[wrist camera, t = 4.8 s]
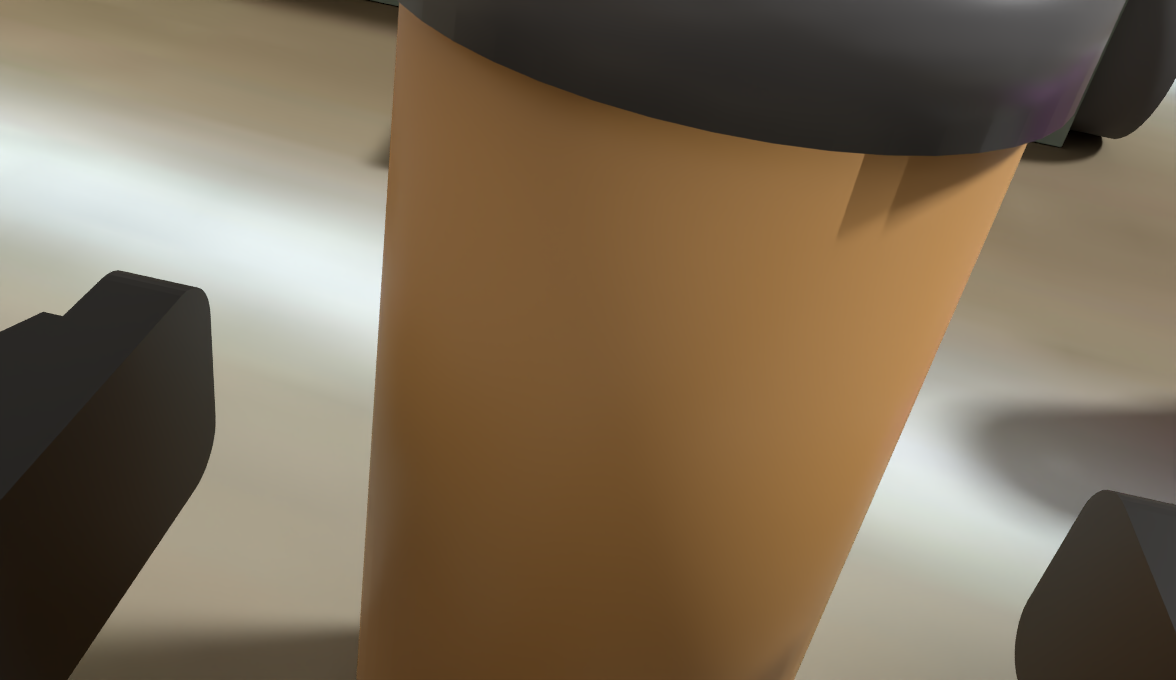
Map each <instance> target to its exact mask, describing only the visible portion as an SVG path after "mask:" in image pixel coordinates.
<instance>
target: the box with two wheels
mask: <svg viewBox="0 0 1176 680" xmlns="http://www.w3.org/2000/svg"><path fill="white" fill-rule="evenodd" d="M372 1H377V2H381V3H386V4H391V5H396V6H399V2H398V1H397V0H372ZM1175 78H1176V0H1126V1H1125V4H1124V6H1123V8H1122V10H1121V12H1120V15H1119V17H1118V19H1117V21H1116V23H1115V26H1114V28H1113V30H1112V32H1111V34H1110V37H1109V39H1108V41H1107V43H1106V45H1105V47H1104V50H1103V52H1102V54H1101V56H1100V58H1099V61H1098V63H1097V65H1096V67H1095V69H1094V72H1093V74H1092V76H1091V78H1090V80H1089V83H1088V85H1087V87H1086V89H1085V91H1084V94H1083V96H1082V98H1081V100H1080V102H1079V105H1078V107H1077V109H1076V111H1075V113H1074V115H1073V116H1072V117H1071V118H1070V119H1069V121H1068V122H1067V123H1066V124H1065V125H1064V126H1063V127H1062V128H1060V129H1058V130H1057V131H1055V132H1053V133H1051V134H1049V135H1048V136H1046V137H1044V138H1042V139H1039V140H1036V141H1035V142H1039V143H1044V144H1049V145H1053V146H1058V147H1062V145H1063V143H1064V140H1065V138H1066V136H1067V134H1068V132H1069V130H1074V131H1079V132H1084V133H1088V134H1093V135H1098V136H1102V137H1107V138H1112V139H1118V138H1122V137H1125V136H1127V135H1129V134H1130V133H1132V132H1134V131H1135V130H1136V129H1137V128H1139V127H1140V126H1141V125H1142V124H1143V123H1144V122H1145V121H1146V120H1147V119H1148V118H1149V117H1150V116H1151V114H1152V113H1153V112H1154V111H1155V109H1156V108H1157V107H1158V105H1159V104H1160V103H1161V101H1162V100H1163V98H1164V97H1165V95H1166V94H1167V92H1168V91H1169V89H1170V87H1171V86H1172V84H1173V82H1174V80H1175Z"/></svg>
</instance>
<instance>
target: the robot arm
mask: <svg viewBox="0 0 1176 680" xmlns="http://www.w3.org/2000/svg"><path fill="white" fill-rule="evenodd" d="M214 435H215V397H214V377H213V357H212V336H211V316H210V306H209V301H208V298H207V296H206V294H205V292H204V291H203V290H202V289H200V288H197V287H193V286H188V285H183V284H179V283H174V282H170V281H165V280H161V279H156V278H152V277H147V276H142V275H138V274H133V273H129V272H124V271H119V270H117V271H113V272H111V273H109V274H107V275H106V276H104V277H103V278H102V279H101V280H100V281H99V282H98V283H97V284H96V285H95V286H94V287H93V288H92V289H91V290H90V291H89V292H88V293H86V294H85V295H84V296H83V297H82V298H81V299H80V300H79V301H78V302H77V303H76V304H75V305H74V306H73V307H72V308H71V309H70V310H69V311H68V312H67V313H66V314H65V315H64V316H60V315H55V314H50V313H46V312H42V313H40V314H37V315H35V316H33V317H31V318H29V319H27V320H25V321H22V322H20V323H18V324H16V325H14V326H12V327H10V328H7V329H5V330H3V331H1V332H0V680H67V679H68V678H69V676H70V675H71V673H72V672H73V670H74V669H75V667H76V666H77V664H78V663H79V661H80V660H81V658H82V657H83V656H84V654H85V653H86V651H87V650H88V648H89V647H90V645H91V644H92V642H93V641H94V639H95V638H96V636H97V635H98V633H99V632H100V630H101V629H102V627H103V626H104V624H105V623H106V621H107V620H108V618H109V617H110V615H111V614H112V612H113V611H114V609H115V608H116V606H117V605H118V603H119V602H120V600H121V599H122V597H123V596H124V594H125V593H126V591H127V590H128V588H129V587H130V586H131V584H132V583H133V581H134V580H135V578H136V577H137V575H138V574H139V572H140V571H141V569H142V568H143V566H144V565H145V563H146V562H147V560H148V559H149V557H150V556H151V554H152V553H153V551H154V550H155V548H156V547H157V545H158V544H159V542H160V541H161V539H162V538H163V536H164V535H165V533H166V532H167V530H168V529H169V527H170V526H171V524H172V523H173V521H174V520H175V518H176V517H177V515H178V514H179V513H180V511H181V510H182V508H183V507H184V505H185V504H186V502H187V501H188V499H189V498H190V496H191V495H192V493H193V492H194V490H195V489H196V487H197V485H198V484H199V482H200V480H201V478H202V476H203V473H204V471H205V469H206V466H207V463H208V460H209V457H210V454H211V450H212V446H213V441H214ZM1015 668H1016V674H1017V679H1018V680H1176V505H1174V504H1169V503H1165V502H1160V501H1156V500H1151V499H1146V498H1142V497H1137V496H1133V495H1128V494H1124V493H1119V492H1115V491H1110V490H1102V491H1100V492H1098V493H1096V494H1095V495H1093V496H1092V497H1091V498H1090V499H1089V500H1088V501H1087V503H1086V504H1085V506H1084V507H1083V509H1082V510H1081V512H1080V514H1079V516H1078V517H1077V519H1076V521H1075V522H1074V524H1073V526H1072V527H1071V529H1070V531H1069V532H1068V534H1067V536H1066V537H1065V539H1064V541H1063V542H1062V544H1061V546H1060V547H1059V549H1058V551H1057V552H1056V554H1055V556H1054V558H1053V559H1052V561H1051V563H1050V564H1049V566H1048V568H1047V569H1046V571H1045V573H1044V574H1043V576H1042V578H1041V579H1040V581H1039V583H1038V584H1037V586H1036V588H1035V589H1034V591H1033V593H1032V594H1031V596H1030V598H1029V599H1028V601H1027V603H1026V605H1025V607H1024V609H1023V612H1022V615H1021V618H1020V621H1019V625H1018V629H1017V635H1016V642H1015Z"/></svg>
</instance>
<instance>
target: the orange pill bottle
mask: <svg viewBox="0 0 1176 680" xmlns="http://www.w3.org/2000/svg"><path fill="white" fill-rule="evenodd" d="M397 1H398V2H399V14H398V29H397V45H396V61H395V77H394V93H393V108H392V124H391V140H390V156H389V172H388V188H387V203H386V219H385V235H384V251H383V267H382V282H381V298H380V314H379V330H378V346H377V361H376V377H375V393H374V409H373V425H372V441H371V456H370V472H369V488H368V504H367V520H366V535H365V551H364V567H363V583H362V599H361V614H360V630H359V646H358V662H357V678H356V680H794V679H795V676H796V674H797V672H798V669H799V667H800V665H801V662H802V660H803V658H804V656H805V653H806V651H807V649H808V646H809V644H810V642H811V639H812V637H813V635H814V633H815V630H816V628H817V626H818V623H819V621H820V619H821V616H822V614H823V612H824V610H825V607H826V605H827V603H828V600H829V598H830V596H831V594H832V591H833V589H834V587H835V584H836V582H837V580H838V577H839V575H840V573H841V571H842V568H843V566H844V564H845V561H846V559H847V557H848V554H849V552H850V550H851V548H852V545H853V543H854V541H855V538H856V536H857V534H858V531H859V529H860V527H861V525H862V522H863V520H864V518H865V515H866V513H867V511H868V508H869V506H870V504H871V502H872V499H873V497H874V495H875V492H876V490H877V488H878V485H879V483H880V481H881V479H882V476H883V474H884V472H885V469H886V467H887V465H888V462H889V460H890V458H891V456H892V453H893V451H894V449H895V446H896V444H897V442H898V440H899V437H900V435H901V433H902V430H903V428H904V426H905V423H906V421H907V419H908V417H909V414H910V412H911V410H912V407H913V405H914V403H915V400H916V398H917V396H918V394H919V391H920V389H921V387H922V384H923V382H924V380H925V377H926V375H927V373H928V371H929V368H930V366H931V364H932V361H933V359H934V357H935V354H936V352H937V350H938V348H939V345H940V343H941V341H942V338H943V336H944V334H945V331H946V329H947V327H948V325H949V322H950V320H951V318H952V315H953V313H954V311H955V308H956V306H957V304H958V302H959V299H960V297H961V295H962V292H963V290H964V288H965V286H966V283H967V281H968V279H969V276H970V274H971V272H972V269H973V267H974V265H975V263H976V260H977V258H978V256H979V253H980V251H981V249H982V246H983V244H984V242H985V240H986V237H987V235H988V233H989V230H990V228H991V226H992V223H993V221H994V219H995V217H996V214H997V212H998V210H999V207H1000V205H1001V203H1002V200H1003V198H1004V196H1005V194H1006V191H1007V189H1008V187H1009V184H1010V182H1011V180H1012V177H1013V175H1014V173H1015V171H1016V168H1017V166H1018V164H1019V161H1020V159H1021V157H1022V155H1023V152H1024V150H1025V148H1026V145H1027V143H1029V142H1033V141H1036V140H1039V139H1042V138H1044V137H1046V136H1048V135H1049V134H1051V133H1053V132H1055V131H1057V130H1058V129H1060V128H1062V127H1063V126H1064V125H1065V124H1066V123H1067V122H1068V121H1069V119H1070V118H1071V117H1072V116H1073V115H1074V113H1075V111H1076V109H1077V107H1078V105H1079V102H1080V100H1081V98H1082V96H1083V94H1084V91H1085V89H1086V87H1087V85H1088V83H1089V80H1090V78H1091V76H1092V74H1093V72H1094V69H1095V67H1096V65H1097V63H1098V61H1099V58H1100V56H1101V54H1102V52H1103V50H1104V47H1105V45H1106V43H1107V41H1108V39H1109V37H1110V34H1111V32H1112V30H1113V28H1114V26H1115V23H1116V21H1117V19H1118V17H1119V15H1120V12H1121V10H1122V8H1123V6H1124V4H1125V1H1126V0H397Z"/></svg>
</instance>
